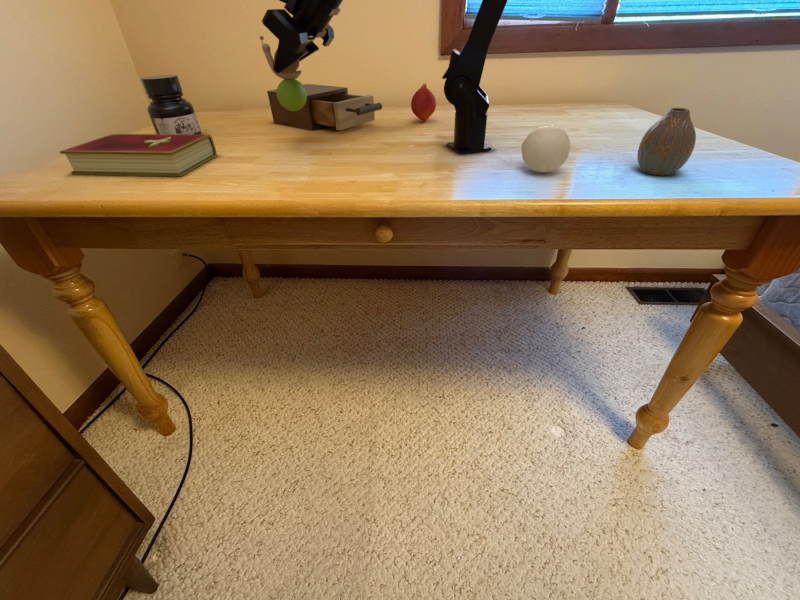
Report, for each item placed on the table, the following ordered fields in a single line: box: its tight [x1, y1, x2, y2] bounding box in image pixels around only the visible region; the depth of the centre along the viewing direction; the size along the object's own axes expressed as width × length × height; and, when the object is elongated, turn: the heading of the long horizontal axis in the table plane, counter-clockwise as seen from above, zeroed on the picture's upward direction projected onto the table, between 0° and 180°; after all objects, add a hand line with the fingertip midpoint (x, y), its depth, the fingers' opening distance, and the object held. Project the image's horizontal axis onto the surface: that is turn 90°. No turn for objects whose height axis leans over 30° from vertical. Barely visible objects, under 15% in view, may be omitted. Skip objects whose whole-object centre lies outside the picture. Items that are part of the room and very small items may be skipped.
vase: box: [637, 107, 697, 176], centre depth 56 cm, size 7×7×9 cm
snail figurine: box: [259, 35, 307, 111], centre depth 70 cm, size 5×6×12 cm
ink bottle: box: [140, 74, 202, 135], centre depth 82 cm, size 10×9×12 cm
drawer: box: [310, 93, 383, 131], centre depth 87 cm, size 18×11×5 cm, turn 51°
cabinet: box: [266, 83, 349, 131], centre depth 93 cm, size 15×13×7 cm
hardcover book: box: [59, 133, 218, 178], centre depth 69 cm, size 12×21×4 cm, turn 82°
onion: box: [410, 83, 437, 122], centre depth 89 cm, size 6×6×8 cm
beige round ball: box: [521, 125, 571, 174], centre depth 59 cm, size 7×7×7 cm
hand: (278, 70), depth 69 cm, fingers closed on snail figurine
